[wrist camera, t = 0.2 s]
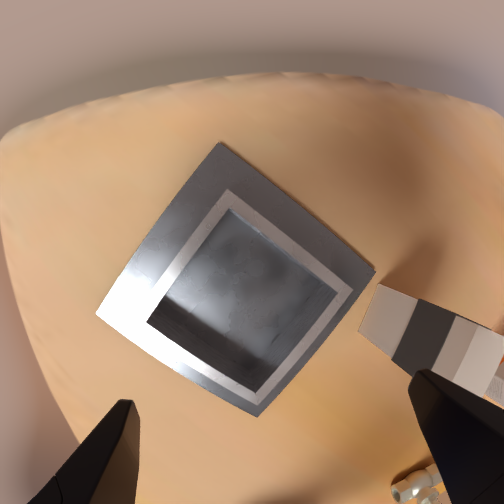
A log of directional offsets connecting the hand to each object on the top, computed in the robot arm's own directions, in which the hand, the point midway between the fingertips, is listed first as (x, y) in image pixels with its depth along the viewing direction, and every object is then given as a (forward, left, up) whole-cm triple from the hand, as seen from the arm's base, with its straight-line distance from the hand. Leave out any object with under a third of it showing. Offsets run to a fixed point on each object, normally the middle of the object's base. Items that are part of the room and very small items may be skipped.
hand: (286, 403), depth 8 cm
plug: (+6, -12, -15) cm, 20 cm away
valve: (-8, -35, -16) cm, 39 cm away
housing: (0, 0, -15) cm, 15 cm away
